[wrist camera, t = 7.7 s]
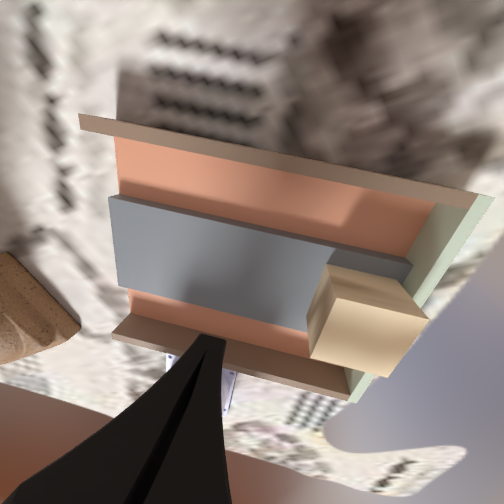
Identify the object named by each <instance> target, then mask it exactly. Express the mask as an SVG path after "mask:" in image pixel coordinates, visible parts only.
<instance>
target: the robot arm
mask: <svg viewBox="0 0 504 504" xmlns="http://www.w3.org/2000/svg"><path fill="white" fill-rule="evenodd" d="M226 343H227V341H226V340H225V339H221V338H217V337H214V336H210V335H206V334H202V333H201V334H199V335H198V337H197V338H196V339H195V341H194V342H193V343H192V344H191V346H190V347H189V348H188V349H187V350H186V352H185V353H184V354H183V355H182V356H181V357H179V356H175V355H171V354H168V353H166V373H165V374H164V375H163V376H162V377H161V378H160V379H159V380H158V381H157V382H156V383H155V384H154V385H153V386H152V387H151V388H149V389H148V390H147V391H146V392H145V393H144V394H143V395H142V396H141V397H139V398H138V399H137V400H136V401H135V402H134V403H132V404H131V405H130V406H129V407H128V408H126V409H125V410H124V411H123V412H121V413H120V414H119V415H118V416H117V417H115V418H114V419H113V420H112V421H110V422H109V423H108V424H106V425H105V426H104V427H102V428H101V429H100V430H98V431H97V432H96V433H94V434H93V435H91V436H90V437H89V438H87V439H86V440H84V441H83V442H82V443H80V444H79V445H78V446H76V447H75V448H73V449H72V450H71V451H69V452H68V453H66V454H65V455H63V456H62V457H60V458H59V459H57V460H56V461H54V462H53V463H51V464H50V465H48V466H47V467H45V468H43V469H42V470H40V471H39V472H37V473H36V474H34V475H33V476H31V477H30V478H28V479H27V480H25V481H24V482H22V483H21V484H20V485H19V486H18V487H17V488H16V489H15V490H14V491H13V492H12V493H11V495H10V496H9V497H8V498H7V499H6V500H5V501H4V502H3V503H2V504H232V500H231V495H230V488H229V481H228V472H227V464H226V456H225V447H224V437H223V424H222V416H227V413H228V408H229V404H230V400H231V395H232V391H233V386H234V382H235V378H236V373H237V372H236V371H232V370H228V369H224V368H222V364H223V359H224V354H225V348H226Z"/></svg>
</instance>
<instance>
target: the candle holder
mask: <svg viewBox="0 0 504 504" xmlns="http://www.w3.org/2000/svg"><path fill="white" fill-rule="evenodd" d="M80 329H81V327H80V326H79V325H78V323H77V322H76V321H75V320H74V319H73V318H72V317H71V316H70V314H69V313H68V312H67V311H66V310H65V309H64V308H63V307H62V306H61V305H60V304H59V303H58V302H57V301H56V300H55V299H54V298H53V297H52V296H51V295H50V294H49V293H48V292H47V290H46V289H45V288H44V287H43V286H42V285H41V284H40V283H39V282H38V281H37V280H36V279H35V278H34V277H33V276H32V275H31V274H30V273H29V272H28V271H27V270H26V269H25V268H24V266H23V265H22V264H21V263H19V262H18V261H17V260H16V259H15V258H14V257H13V256H12V255H11V254H10V253H8V252H4V253H1V254H0V365H1V364H6V363H9V362H12V361H15V360H18V359H21V358H24V357H27V356H30V355H33V354H35V353H38V352H41V351H43V350H46V349H49V348H52V347H54V346H57V345H60V344H62V343H64V342H66V341H67V340H69V339H70V338H71V337H72V336H74V335H75V334H76V333H77V332H78V331H79V330H80Z"/></svg>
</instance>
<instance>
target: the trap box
mask: <svg viewBox="0 0 504 504" xmlns="http://www.w3.org/2000/svg"><path fill="white" fill-rule="evenodd" d="M78 116H79V122H80V129H81V130H86V131H91V132H96V133H101V134H106V135H110V136H114V141H115V152H116V163H117V174H118V184H119V194H118V195H114V196H111V197H108V201H109V209H110V218H111V227H112V235H113V244H114V252H115V261H116V269H117V278H118V286H121V287H125V288H128V292H129V303H130V314H129V315H128V316H127V317H126V318H125V319H124V320H123V321H122V322H121V323H120V324H119V326H118V327H117V328H116V329H115V330H114V331H113V332H112V339H115V340H119V341H122V342H126V343H130V344H134V345H137V346H141V347H145V348H149V349H153V350H156V351H160V352H164V353H168V354H171V355H175V356H179V357H181V356H182V355H183V354H184V353H185V352H186V350H187V349H188V348H189V347H190V346H191V344H192V343H193V342H194V341H195V339H196V338H197V337H198V335H199V334H201V333H202V334H206V335H210V336H214V337H217V338H221V339H225V340H226V341H227V343H226V348H225V354H224V359H223V364H222V368H224V369H228V370H232V371H236V372H239V373H243V374H247V375H251V376H255V377H258V378H262V379H266V380H270V381H273V382H277V383H281V384H285V385H289V386H292V387H296V388H300V389H304V390H307V391H311V392H315V393H319V394H323V395H326V396H330V397H334V398H338V399H341V400H345V401H349V402H353V403H357V401H358V400H359V399H360V397H361V396H362V394H363V393H364V391H365V390H366V388H367V387H368V385H369V384H370V382H371V381H372V379H373V378H374V376H375V374H371V373H367V372H363V371H359V370H355V369H352V368H348V367H344V366H340V365H336V364H332V363H328V362H324V361H320V360H316V359H312V358H310V351H309V341H308V331H307V321H306V315H307V312H308V309H309V307H310V304H311V302H312V299H313V296H314V294H315V291H316V288H317V286H318V283H319V280H320V278H321V275H322V273H323V270H324V267H325V265H326V264H330V265H334V266H339V267H343V268H347V269H352V270H356V271H360V272H365V273H369V274H374V275H378V276H382V277H387V278H391V279H396V280H397V281H398V282H399V283H400V284H401V286H402V287H403V288H404V289H405V290H406V292H407V293H408V294H409V295H410V297H411V298H412V299H413V300H414V301H415V303H416V304H417V305H418V306H419V307H420V308H421V307H422V305H423V304H424V303H425V301H426V300H427V298H428V297H429V295H430V294H431V292H432V291H433V289H434V288H435V286H436V285H437V283H438V282H439V280H440V279H441V277H442V276H443V274H444V273H445V271H446V270H447V268H448V267H449V266H450V264H451V263H452V261H453V260H454V258H455V257H456V255H457V254H458V252H459V251H460V249H461V248H462V246H463V245H464V243H465V242H466V240H467V239H468V237H469V236H470V234H471V233H472V231H473V230H474V229H475V227H476V226H477V224H478V223H479V221H480V220H481V218H482V217H483V215H484V214H485V212H486V211H487V209H488V208H489V206H490V205H491V203H492V202H493V200H494V199H495V197H490V196H486V195H482V194H478V193H474V192H469V191H465V190H461V189H457V188H452V187H447V186H442V185H437V184H432V183H427V182H422V181H417V180H412V179H407V178H402V177H398V176H393V175H388V174H383V173H378V172H373V171H368V170H363V169H358V168H353V167H348V166H343V165H338V164H333V163H328V162H323V161H318V160H313V159H308V158H303V157H298V156H293V155H288V154H283V153H278V152H274V151H269V150H264V149H259V148H254V147H249V146H244V145H239V144H234V143H229V142H224V141H219V140H214V139H209V138H204V137H199V136H194V135H189V134H184V133H179V132H174V131H169V130H164V129H159V128H154V127H150V126H145V125H140V124H135V123H130V122H125V121H120V120H115V119H109V118H103V117H97V116H91V115H85V114H79V113H78Z"/></svg>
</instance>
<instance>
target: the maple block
mask: <svg viewBox="0 0 504 504" xmlns="http://www.w3.org/2000/svg"><path fill="white" fill-rule="evenodd" d="M306 321H307V331H308V341H309V351H310V358H312V359H316V360H320V361H324V362H328V363H332V364H336V365H340V366H344V367H348V368H352V369H355V370H359V371H363V372H367V373H371V374H375V375H379V376H383V377H387V378H388V376H389V375H390V374H391V372H392V371H393V369H394V368H395V367H396V365H397V364H398V362H399V361H400V360H401V358H402V357H403V356H404V354H405V353H406V351H407V350H408V349H409V347H410V346H411V345H412V343H413V342H414V340H415V339H416V338H417V336H418V335H419V333H420V332H421V331H422V329H423V328H424V326H425V325H426V324H427V322H428V321H429V318H428V317H427V316H426V315H425V314H424V312H423V311H422V310H421V309H420V307H419V306H418V305H417V304H416V303H415V301H414V300H413V299H412V298H411V297H410V295H409V294H408V293H407V292H406V290H405V289H404V288H403V287H402V286H401V284H400V283H399V282H398V281H397V280H396V279H391V278H387V277H382V276H378V275H374V274H369V273H365V272H360V271H356V270H352V269H347V268H343V267H339V266H334V265H330V264H326V265H325V267H324V270H323V273H322V275H321V278H320V280H319V283H318V286H317V288H316V291H315V294H314V296H313V299H312V302H311V304H310V307H309V309H308V312H307V315H306Z"/></svg>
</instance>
